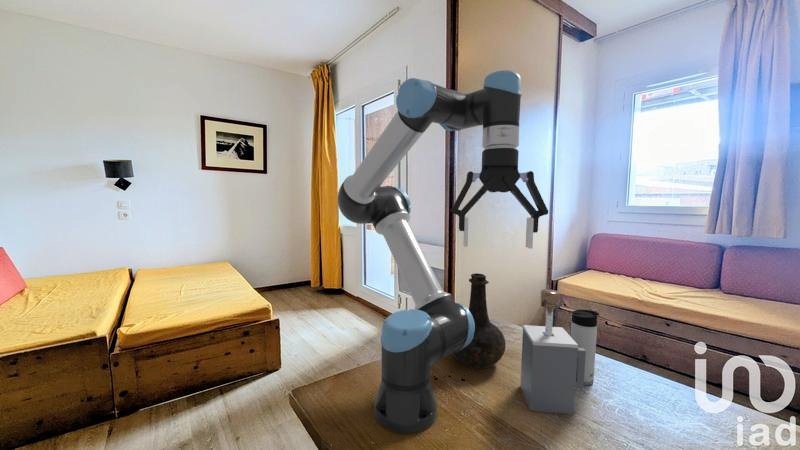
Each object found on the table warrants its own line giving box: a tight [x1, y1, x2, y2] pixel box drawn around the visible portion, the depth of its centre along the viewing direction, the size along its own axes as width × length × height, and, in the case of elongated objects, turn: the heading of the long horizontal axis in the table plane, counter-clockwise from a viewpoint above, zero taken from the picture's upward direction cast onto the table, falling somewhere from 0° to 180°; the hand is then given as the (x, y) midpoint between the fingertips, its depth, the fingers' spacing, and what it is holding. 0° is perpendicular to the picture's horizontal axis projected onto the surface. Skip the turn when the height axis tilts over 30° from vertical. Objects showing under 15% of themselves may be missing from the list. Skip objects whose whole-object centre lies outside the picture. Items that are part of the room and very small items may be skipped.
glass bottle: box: [452, 272, 507, 369], centre depth 99 cm, size 18×18×28 cm
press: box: [520, 324, 586, 415], centre depth 80 cm, size 14×10×17 cm
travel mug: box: [570, 309, 600, 386], centre depth 90 cm, size 6×7×20 cm
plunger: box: [540, 288, 561, 336], centre depth 80 cm, size 4×4×24 cm
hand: (496, 246), depth 70 cm, fingers open, 13 cm apart
